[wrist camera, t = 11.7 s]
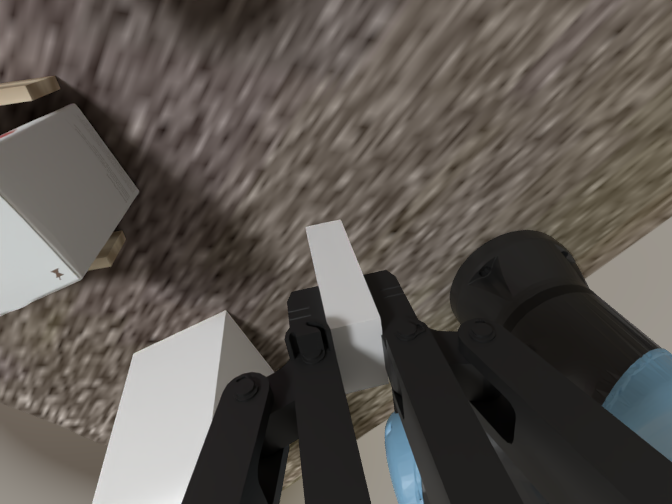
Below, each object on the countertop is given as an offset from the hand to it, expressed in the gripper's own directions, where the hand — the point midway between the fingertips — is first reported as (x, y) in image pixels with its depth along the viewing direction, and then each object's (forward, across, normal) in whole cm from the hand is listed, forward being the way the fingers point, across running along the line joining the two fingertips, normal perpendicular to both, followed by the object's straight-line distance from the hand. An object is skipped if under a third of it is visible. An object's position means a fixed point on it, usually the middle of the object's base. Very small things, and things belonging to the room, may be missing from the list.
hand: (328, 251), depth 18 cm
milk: (+24, +16, +26) cm, 38 cm away
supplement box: (+24, +20, 0) cm, 31 cm away
